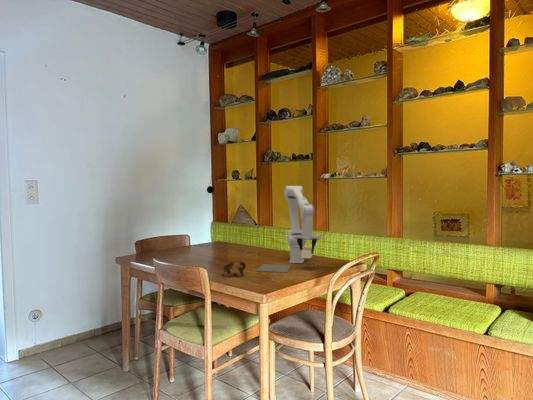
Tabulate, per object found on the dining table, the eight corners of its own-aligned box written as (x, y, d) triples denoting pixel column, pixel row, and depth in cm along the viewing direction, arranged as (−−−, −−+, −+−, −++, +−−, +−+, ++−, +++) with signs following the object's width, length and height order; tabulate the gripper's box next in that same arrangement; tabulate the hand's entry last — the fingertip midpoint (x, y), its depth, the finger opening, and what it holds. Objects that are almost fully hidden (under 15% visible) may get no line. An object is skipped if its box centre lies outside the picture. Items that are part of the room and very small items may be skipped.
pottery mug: (235, 279, 193) (226, 264, 194) (225, 284, 200) (217, 270, 201) (252, 269, 201) (244, 254, 202) (243, 274, 208) (235, 260, 209)
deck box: (303, 254, 219) (303, 247, 218) (312, 255, 217) (312, 247, 217) (301, 257, 210) (301, 250, 210) (310, 258, 209) (310, 250, 208)
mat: (262, 264, 223) (262, 264, 223) (291, 266, 220) (291, 265, 220) (255, 271, 208) (255, 270, 208) (286, 272, 204) (286, 272, 204)
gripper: (292, 228, 210) (292, 254, 211) (320, 229, 207) (320, 255, 208) (294, 226, 217) (294, 251, 218) (321, 227, 214) (321, 252, 215)
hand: (307, 253), depth 214 cm, fingers closed on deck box, 5 cm apart
